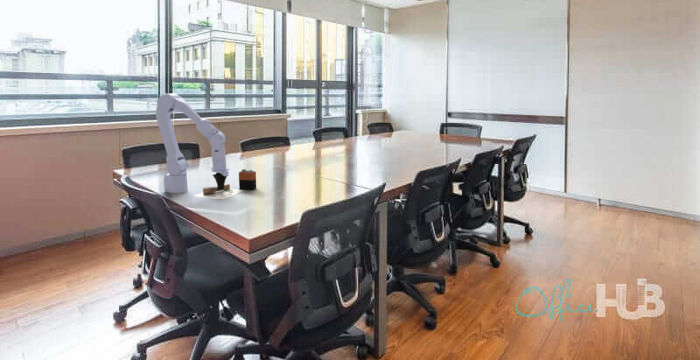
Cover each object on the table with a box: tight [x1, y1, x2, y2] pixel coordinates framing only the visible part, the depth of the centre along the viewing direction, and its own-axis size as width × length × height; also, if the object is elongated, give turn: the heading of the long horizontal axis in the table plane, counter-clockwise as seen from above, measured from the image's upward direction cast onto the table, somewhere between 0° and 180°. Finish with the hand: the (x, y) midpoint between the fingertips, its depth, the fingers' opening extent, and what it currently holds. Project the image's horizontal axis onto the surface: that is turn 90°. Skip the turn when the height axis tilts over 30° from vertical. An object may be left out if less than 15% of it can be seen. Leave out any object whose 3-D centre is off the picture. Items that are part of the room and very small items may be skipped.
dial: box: [202, 183, 231, 195], centre depth 191 cm, size 13×5×2 cm, turn 142°
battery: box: [238, 168, 257, 191], centre depth 197 cm, size 4×7×10 cm, turn 77°
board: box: [194, 188, 245, 200], centre depth 190 cm, size 15×17×1 cm
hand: (221, 189), depth 192 cm, fingers closed, pressing on dial
